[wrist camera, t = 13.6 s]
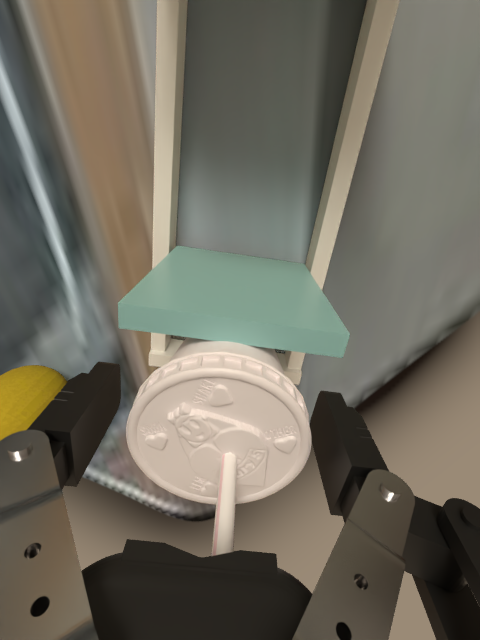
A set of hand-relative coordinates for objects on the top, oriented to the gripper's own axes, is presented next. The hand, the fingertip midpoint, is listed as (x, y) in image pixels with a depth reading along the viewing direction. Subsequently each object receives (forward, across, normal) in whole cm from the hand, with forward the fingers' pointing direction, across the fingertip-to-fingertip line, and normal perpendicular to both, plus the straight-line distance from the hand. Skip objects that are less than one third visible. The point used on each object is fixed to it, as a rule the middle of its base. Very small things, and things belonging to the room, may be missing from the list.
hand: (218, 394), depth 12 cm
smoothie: (+8, 0, 0) cm, 8 cm away
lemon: (+12, +14, +9) cm, 20 cm away
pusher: (+10, 0, -3) cm, 11 cm away
